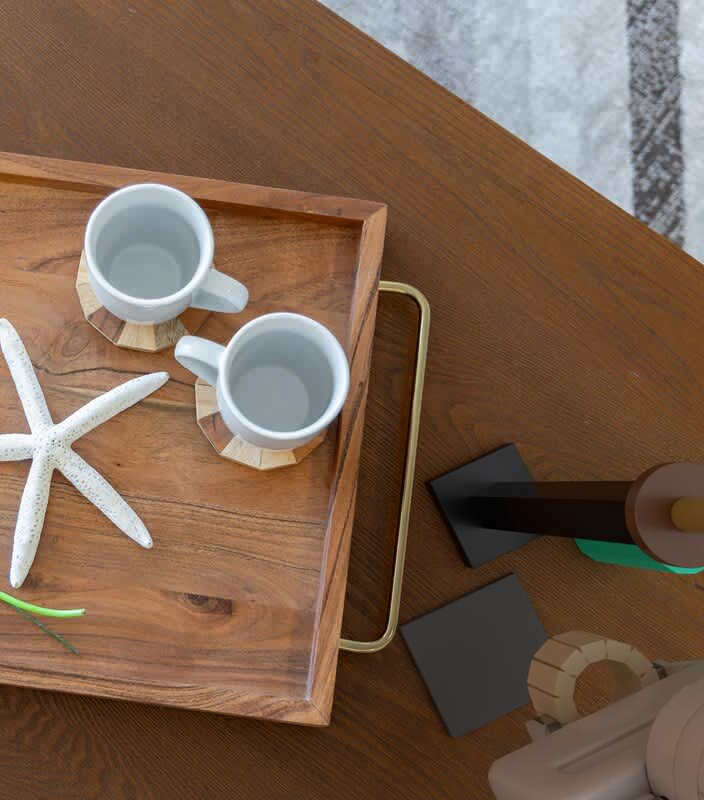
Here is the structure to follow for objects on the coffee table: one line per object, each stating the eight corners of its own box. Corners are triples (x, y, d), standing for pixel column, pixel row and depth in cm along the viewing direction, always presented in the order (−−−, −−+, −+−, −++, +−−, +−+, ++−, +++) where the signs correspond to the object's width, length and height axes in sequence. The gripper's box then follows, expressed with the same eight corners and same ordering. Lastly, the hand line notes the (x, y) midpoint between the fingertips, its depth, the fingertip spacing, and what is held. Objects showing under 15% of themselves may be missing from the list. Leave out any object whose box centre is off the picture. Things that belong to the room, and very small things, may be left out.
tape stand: (548, 528, 75) (857, 556, 45) (465, 567, 75) (719, 623, 44) (506, 443, 76) (781, 414, 45) (423, 481, 76) (644, 479, 45)
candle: (563, 551, 75) (650, 563, 63) (579, 483, 76) (669, 483, 64) (631, 571, 75) (731, 587, 63) (647, 504, 76) (750, 507, 64)
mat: (567, 681, 74) (570, 682, 74) (450, 737, 74) (453, 739, 73) (512, 571, 75) (516, 572, 74) (397, 626, 75) (399, 627, 74)
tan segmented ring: (643, 719, 58) (678, 734, 55) (546, 748, 58) (575, 765, 55) (610, 618, 59) (642, 627, 55) (514, 647, 59) (540, 658, 55)
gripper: (597, 926, 43) (475, 816, 57) (961, 744, 44) (753, 680, 58) (538, 804, 43) (431, 724, 57) (899, 626, 44) (708, 591, 58)
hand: (595, 701), depth 57 cm, fingers closed on tan segmented ring, 7 cm apart
